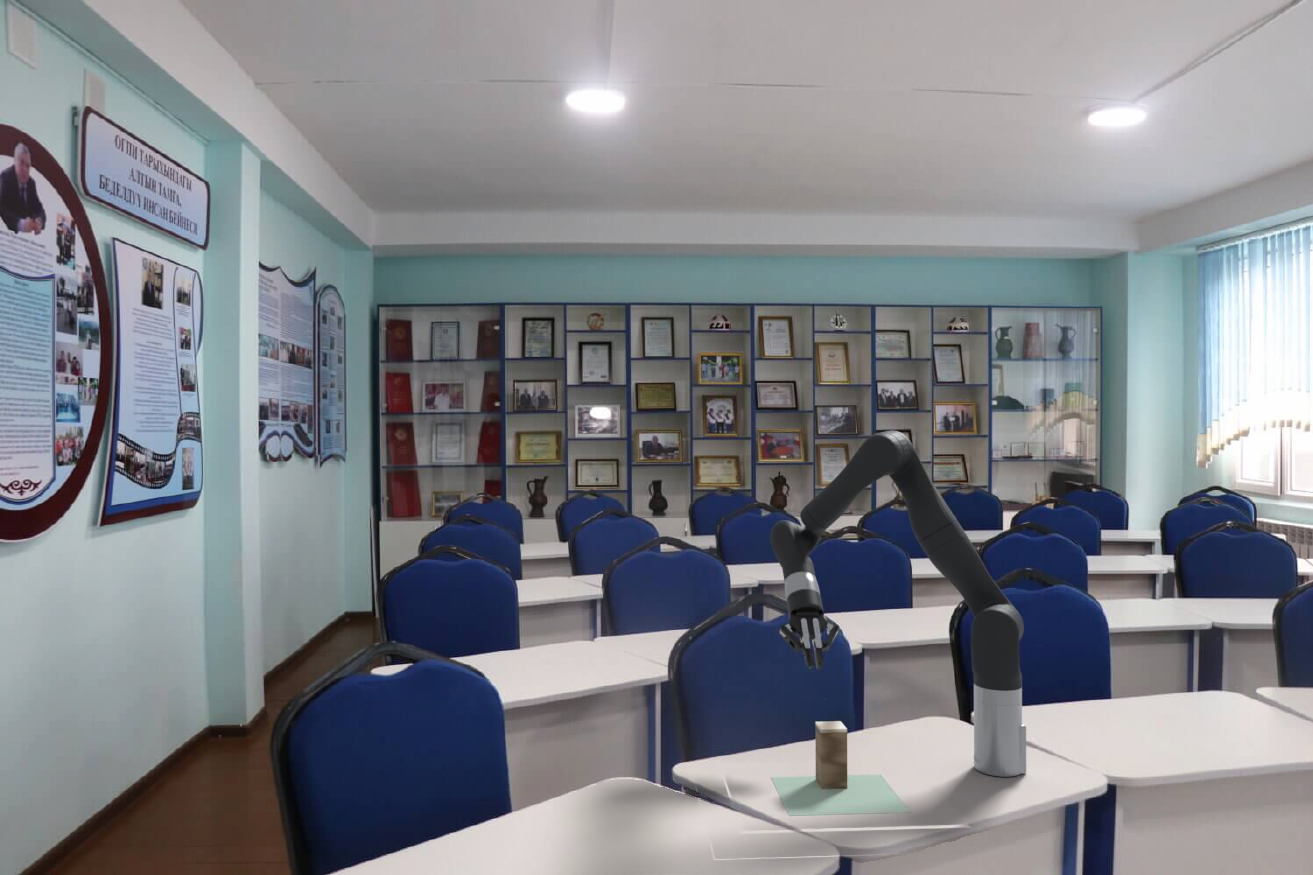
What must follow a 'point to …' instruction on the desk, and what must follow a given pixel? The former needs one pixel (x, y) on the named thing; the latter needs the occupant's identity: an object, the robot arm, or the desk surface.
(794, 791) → the sage mat
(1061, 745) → the desk surface
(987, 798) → the desk surface
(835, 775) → the walnut block
